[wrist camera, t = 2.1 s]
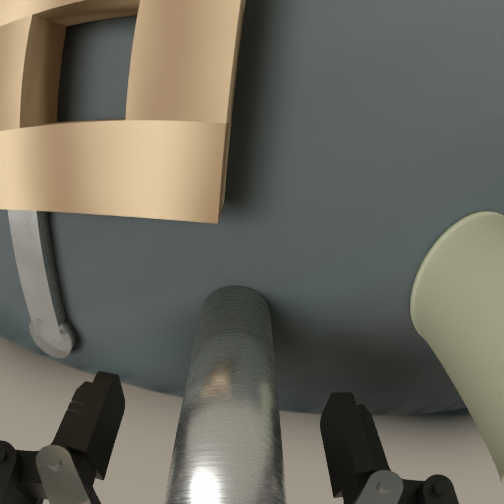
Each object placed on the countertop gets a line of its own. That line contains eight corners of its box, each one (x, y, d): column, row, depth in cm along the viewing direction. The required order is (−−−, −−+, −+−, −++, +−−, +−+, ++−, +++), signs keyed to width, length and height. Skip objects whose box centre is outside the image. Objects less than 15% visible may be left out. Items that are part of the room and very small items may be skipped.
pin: (274, 288, 16) (300, 510, 6) (265, 343, 17) (276, 538, 7) (202, 282, 16) (153, 500, 6) (200, 338, 17) (169, 531, 7)
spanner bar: (11, 190, 13) (0, 196, 12) (52, 191, 14) (42, 196, 13) (43, 343, 18) (37, 352, 17) (81, 352, 18) (75, 362, 17)
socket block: (252, -47, 9) (253, -80, 6) (224, 201, 14) (218, 223, 11) (28, -15, 8) (-3, -27, 6) (11, 191, 13) (-24, 208, 11)
